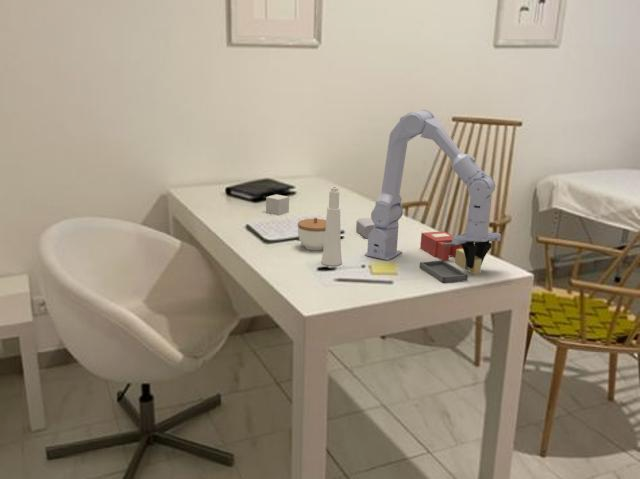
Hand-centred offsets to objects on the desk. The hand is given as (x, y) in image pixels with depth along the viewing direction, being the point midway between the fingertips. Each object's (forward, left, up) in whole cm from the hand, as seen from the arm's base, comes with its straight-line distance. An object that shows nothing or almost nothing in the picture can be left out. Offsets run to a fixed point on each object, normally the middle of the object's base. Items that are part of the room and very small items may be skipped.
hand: (473, 266), depth 184 cm
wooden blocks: (+2, +2, -1) cm, 3 cm away
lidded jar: (-10, +47, -2) cm, 48 cm away
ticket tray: (-7, +6, -1) cm, 10 cm away
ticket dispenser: (+10, +14, -1) cm, 17 cm away
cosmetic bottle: (-19, +35, -2) cm, 40 cm away
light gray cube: (+17, +82, -2) cm, 84 cm away
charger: (+17, +43, -2) cm, 46 cm away
